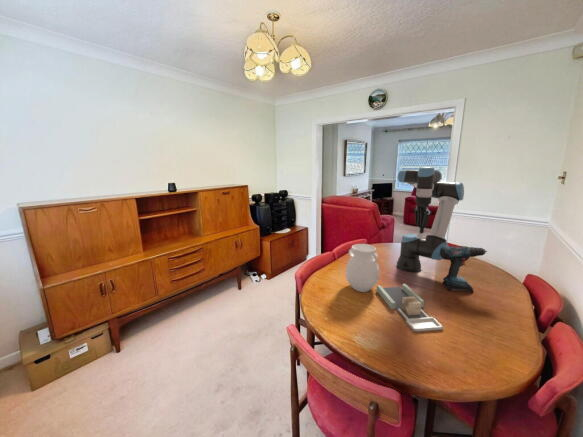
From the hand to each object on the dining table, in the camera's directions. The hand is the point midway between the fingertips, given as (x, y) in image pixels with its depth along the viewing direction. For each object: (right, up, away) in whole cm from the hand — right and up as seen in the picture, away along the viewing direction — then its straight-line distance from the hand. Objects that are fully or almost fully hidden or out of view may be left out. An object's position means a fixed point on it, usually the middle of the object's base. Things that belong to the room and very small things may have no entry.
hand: (419, 238), depth 139 cm
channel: (-14, -32, -6) cm, 36 cm away
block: (-14, -34, -18) cm, 41 cm away
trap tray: (-13, -37, -28) cm, 48 cm away
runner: (-14, -33, -9) cm, 37 cm away
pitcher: (-31, -30, +6) cm, 43 cm away
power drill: (+24, -29, +4) cm, 38 cm away
